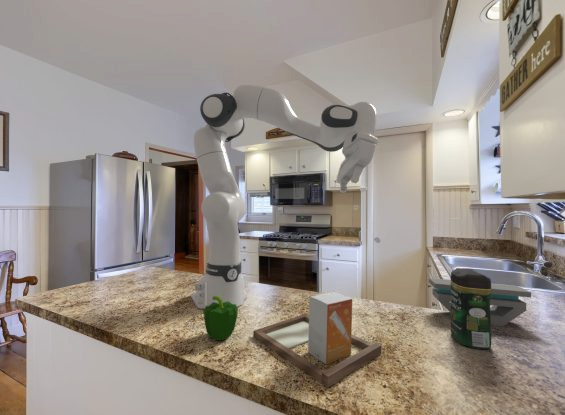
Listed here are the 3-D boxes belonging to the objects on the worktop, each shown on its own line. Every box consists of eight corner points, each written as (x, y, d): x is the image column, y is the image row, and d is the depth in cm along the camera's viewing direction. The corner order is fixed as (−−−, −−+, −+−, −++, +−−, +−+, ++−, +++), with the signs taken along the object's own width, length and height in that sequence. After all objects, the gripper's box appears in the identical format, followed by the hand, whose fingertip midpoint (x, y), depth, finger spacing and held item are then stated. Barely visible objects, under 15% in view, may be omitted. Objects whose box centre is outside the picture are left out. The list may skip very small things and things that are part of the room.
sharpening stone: (515, 319, 83) (515, 285, 83) (531, 329, 75) (531, 292, 76) (428, 309, 90) (428, 277, 91) (434, 317, 83) (434, 283, 83)
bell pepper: (243, 336, 67) (244, 297, 67) (215, 347, 61) (216, 305, 62) (225, 326, 73) (226, 290, 73) (198, 335, 67) (199, 296, 68)
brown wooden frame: (253, 336, 67) (253, 328, 67) (305, 318, 79) (305, 312, 79) (327, 387, 48) (328, 376, 48) (381, 353, 60) (381, 345, 60)
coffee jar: (446, 331, 73) (446, 265, 74) (479, 335, 71) (479, 267, 71) (458, 347, 64) (459, 272, 64) (496, 353, 62) (497, 275, 62)
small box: (326, 365, 55) (327, 304, 55) (307, 352, 60) (308, 295, 61) (352, 355, 59) (353, 298, 60) (332, 343, 65) (333, 291, 65)
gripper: (336, 159, 93) (328, 194, 89) (360, 128, 73) (351, 171, 70) (353, 164, 93) (345, 199, 90) (381, 135, 74) (373, 178, 70)
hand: (348, 187), depth 79 cm, fingers open, 8 cm apart
